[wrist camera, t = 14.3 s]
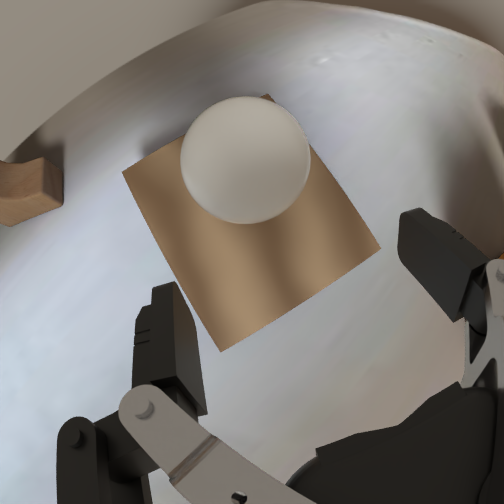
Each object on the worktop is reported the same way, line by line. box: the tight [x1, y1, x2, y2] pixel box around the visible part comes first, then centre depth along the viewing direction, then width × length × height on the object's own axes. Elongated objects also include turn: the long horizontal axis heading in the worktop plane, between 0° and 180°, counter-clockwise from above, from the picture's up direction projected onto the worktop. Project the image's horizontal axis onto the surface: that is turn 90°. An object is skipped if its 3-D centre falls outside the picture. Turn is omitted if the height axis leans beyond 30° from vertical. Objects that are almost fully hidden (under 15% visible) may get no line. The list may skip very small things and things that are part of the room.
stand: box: [122, 94, 381, 352], centre depth 25 cm, size 14×16×6 cm
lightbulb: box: [180, 96, 311, 224], centre depth 17 cm, size 6×6×11 cm
